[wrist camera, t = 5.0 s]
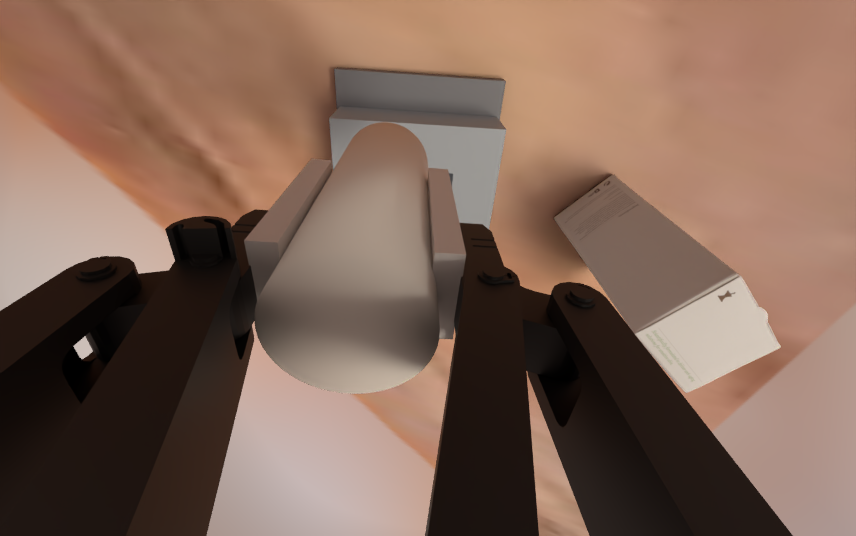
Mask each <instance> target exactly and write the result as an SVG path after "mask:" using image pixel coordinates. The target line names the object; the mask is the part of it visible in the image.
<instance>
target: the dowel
mask: <svg viewBox="0 0 856 536" xmlns="http://www.w3.org/2000/svg"><path fill="white" fill-rule="evenodd" d="M427 179H428V161H427V155H426V152H425V149H424V147H423V145H422V143H421V142H420V140H419V139H418V138H417V137H416V136H415V134H413V133H412V132H411V131H410V130H408V129H407V128H405V127H403V126H401V125H398V124H395V123H389V122H380V123H374V124H371V125H368V126H366V127H364V128H363V129H361V130H360V131H359V132H358V133H357V134H356V135H355V136H354V137H353V138H352V140H351V141H350V143H349V145H348V146H347V148H346V150H345V151H344V153H343V155H342V156H341V158H340V160H339V161H338V163H337V165H336V167H335V168H334V170H333V172H332V173H331V175H330V177H329V178H328V180H327V182H326V183H325V185H324V187H323V188H322V190H321V192H320V194H319V195H318V197H317V199H316V200H315V202H314V204H313V205H312V207H311V209H310V210H309V212H308V214H307V216H306V217H305V219H304V221H303V222H302V224H301V226H300V227H299V229H298V231H297V232H296V234H295V236H294V237H293V239H292V241H291V243H290V244H289V246H288V248H287V249H286V251H285V253H284V254H283V256H282V258H281V259H280V261H279V263H278V264H277V266H276V268H275V270H274V271H273V273H272V275H271V276H270V278H269V280H268V281H267V283H266V285H265V286H264V288H263V290H262V292H261V294H260V296H259V298H258V300H257V304H256V308H255V317H254V321H255V329H256V332H257V335H258V338H259V340H260V343H261V345H262V347H263V348H264V350H265V351H266V353H267V354H268V355H269V356H270V358H271V359H272V360H273V361H274V362H275V363H276V364H277V365H278V366H279V367H280V368H281V369H283V370H284V371H285V372H287V373H288V374H289V375H291V376H293V377H295V378H296V379H298V380H300V381H302V382H304V383H306V384H308V385H311V386H314V387H317V388H320V389H324V390H327V391H333V392H339V393H348V394H363V393H373V392H378V391H383V390H387V389H390V388H393V387H396V386H398V385H401V384H403V383H404V382H406V381H408V380H410V379H411V378H413V377H414V376H416V375H417V374H418V373H419V372H420V371H422V370H423V369H424V368H425V366H426V365H427V364H428V363H429V362H430V360H431V358H432V357H433V355H434V353H435V351H436V348H437V346H438V341H439V334H440V325H439V311H438V297H437V286H436V280H435V276H434V273H433V266H432V250H431V233H430V216H429V200H428V183H427Z"/></svg>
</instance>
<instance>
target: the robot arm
mask: <svg viewBox="0 0 856 536" xmlns="http://www.w3.org/2000/svg"><path fill="white" fill-rule="evenodd" d="M331 173H332V160H323V159H311V160H310V161H309V162H308V163H307V165H306V166H305V167H304V168H303V169H302V171H301V172H300V173H299V174H298V176H297V177H296V178H295V179H294V180H293V182H292V183H291V184H290V185H289V186H288V188H287V189H286V190H285V191H284V193H283V194H282V195H281V196H280V197H279V199H278V200H277V201H276V202H275V203H274V205H273V206H272V207H271V208H270V210H269V211H268V210H253V211H251V212H249V213H247V214H245V215H243V216H242V217H241V218H240V219H239V220H238V221H237V222H236V223H235V225H233V226H232V227H231V224H230V222H228V221H227V220H226V219H223V218H219V217H212V216H201V217H192V218H188V219H183V220H180V221H178V222H175V223H173V224H171V225H170V226H168V227H167V228H166V229H165V230H166V233H167V236H168V239H169V242H170V246H171V249H172V252H173V255H174V258H175V262H174V264H173V265H172V267H171V268H170V270H169V271H161V272H152V273H142V274H138V272H137V269H136V267H135V264H134V262H132V261H131V260H130V259H128V258H124V257H109V256H104V257H100V258H98V257H97V258H91V259H89V260H87V261H84V262H81V263H78V264H76V265H74V266H72V267H70V268H68V269H66V270H64V271H63V272H61V273H60V274H58V275H57V276H55V277H53V278H52V279H50V280H49V281H47V282H45V283H44V284H42V285H41V286H39V287H38V288H36V289H34V290H33V291H31V292H30V293H28V294H27V295H25V296H23V297H22V298H20V299H19V300H17V301H15V302H14V303H12V304H11V305H9V306H8V307H6V308H4V309H3V310H1V311H0V536H206V534H207V530H208V526H209V522H210V518H211V514H212V510H213V506H214V502H215V498H216V493H217V490H218V486H219V481H220V477H221V473H222V469H223V465H224V461H225V457H226V453H227V449H228V445H229V441H230V437H231V433H232V428H233V424H234V420H235V416H236V412H237V408H238V403H239V400H240V396H241V392H242V387H243V383H244V379H245V375H246V371H247V367H248V363H249V359H250V355H251V350H252V347H253V342H254V334H253V329H252V324H253V322H254V317H255V308H256V304H257V300H258V298H259V296H260V294H261V292H262V290H263V288H264V286H265V285H266V283H267V281H268V280H269V278H270V276H271V275H272V273H273V271H274V270H275V268H276V266H277V264H278V263H279V261H280V259H281V258H282V256H283V254H284V253H285V251H286V249H287V248H288V246H289V244H290V243H291V241H292V239H293V237H294V236H295V234H296V232H297V231H298V229H299V227H300V226H301V224H302V222H303V221H304V219H305V217H306V216H307V214H308V212H309V210H310V209H311V207H312V205H313V204H314V202H315V200H316V199H317V197H318V195H319V194H320V192H321V190H322V188H323V187H324V185H325V183H326V182H327V180H328V178H329V177H330V175H331ZM427 183H428V200H429V216H430V233H431V250H432V266H433V273H434V276H435V280H436V286H437V297H438V311H439V325H440V334H439V339H453V333H454V327H455V333H456V338H455V344H454V350H453V356H452V362H451V368H450V376H449V382H448V389H447V395H446V402H445V409H444V415H443V422H442V428H441V435H440V441H439V448H438V455H437V461H436V468H435V474H434V481H433V487H432V494H431V500H430V507H429V514H428V520H427V527H426V533H425V536H539V531H538V518H537V505H536V492H535V478H534V465H533V452H532V439H531V426H530V413H529V400H528V387H527V373H526V371H528V377H529V379H530V382H531V384H532V387H533V390H534V392H535V395H536V397H537V400H538V403H539V405H540V408H541V410H542V413H543V416H544V418H545V421H546V423H547V426H548V429H549V431H550V434H551V436H552V439H553V442H554V444H555V447H556V449H557V452H558V455H559V457H560V460H561V462H562V465H563V468H564V470H565V473H566V475H567V478H568V481H569V483H570V486H571V488H572V491H573V494H574V496H575V499H576V501H577V504H578V507H579V509H580V512H581V514H582V517H583V520H584V522H585V525H586V527H587V530H588V533H589V535H590V536H792V534H791V533H790V532H789V530H788V529H787V528H786V526H785V525H784V524H783V523H782V521H781V520H780V519H779V518H778V516H777V515H776V514H775V512H774V511H773V510H772V509H771V507H770V506H769V505H768V503H767V502H766V501H765V500H764V498H763V497H762V496H761V495H760V493H759V492H758V491H757V489H756V488H755V487H754V486H753V484H752V483H751V482H750V480H749V479H748V478H747V477H746V475H745V474H744V473H743V472H742V470H741V469H740V468H739V467H738V465H737V464H736V463H735V461H734V460H733V459H732V458H731V456H730V455H729V454H728V452H727V451H726V450H725V449H724V447H723V446H722V445H721V443H720V442H719V441H718V440H717V438H716V437H715V436H714V435H713V433H712V432H711V431H710V429H709V428H708V427H707V426H706V424H705V423H704V422H703V421H702V419H701V418H700V417H699V415H698V414H697V413H696V412H695V410H694V409H693V408H692V406H691V405H690V404H689V403H688V401H687V400H686V399H685V398H684V396H683V395H682V394H681V392H680V391H679V390H678V389H677V387H676V386H675V385H674V384H673V382H672V381H671V380H670V378H669V377H668V376H667V375H666V373H665V372H664V371H663V369H662V368H661V367H660V366H659V364H658V363H657V362H656V361H655V359H654V358H653V357H652V355H651V354H650V353H649V352H648V350H647V349H646V348H645V347H644V345H643V344H642V343H641V341H640V340H639V339H638V338H637V336H636V335H635V334H634V333H633V331H632V330H631V329H630V327H629V326H628V325H627V324H626V322H625V321H624V320H623V318H622V317H621V316H620V315H619V313H618V312H617V311H616V310H615V308H614V307H613V306H612V304H611V303H610V302H609V301H608V299H607V298H606V297H605V296H604V295H602V294H601V293H600V292H599V291H597V290H595V289H593V288H592V287H590V286H587V285H584V284H581V283H572V282H566V283H560V284H558V285H556V286H554V288H553V290H552V293H551V295H547V294H543V293H539V292H535V291H532V290H529V289H526V288H524V287H522V286H520V281H519V279H518V276H517V275H516V274H515V273H514V272H513V271H512V270H510V269H508V268H506V267H504V265H503V262H502V259H501V257H500V254H499V251H498V248H497V246H496V243H495V241H494V237H493V235H492V232H491V231H490V230H489V229H488V228H486V227H485V226H484V225H483V224H472V223H459V218H458V214H457V209H456V204H455V200H454V195H453V190H452V186H451V181H450V176H449V172H448V169H438V168H428V179H427ZM84 336H86V338H87V340H88V342H89V344H90V346H91V348H92V350H93V352H92V353H91V354H90V355H89V356H87V357H86V358H84V359H81V358H79V356H78V354H77V352H76V350H75V349H74V347H73V346H74V345H75V344H76V343H77V342H78V341H80V340H81V339H82V338H83V337H84Z"/></svg>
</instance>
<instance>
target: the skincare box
mask: <svg viewBox="0 0 856 536" xmlns="http://www.w3.org/2000/svg"><path fill="white" fill-rule="evenodd" d="M554 220H555V221H556V223H557V224H558V226H559V227H560V228H561V230H562V231H563V233H564V234H565V235H566V237H567V238H568V240H569V241H570V243H571V244H572V245H573V247H574V248H575V249H576V251H577V252H578V254H579V255H580V257H581V258H582V259H583V261H584V262H585V264H586V265H587V267H588V268H589V270H590V271H591V272H592V274H593V275H594V277H595V278H596V280H597V281H598V282H599V284H600V285H601V287H602V288H603V290H604V291H605V293H606V294H607V295H608V297H609V298H610V300H611V301H612V303H613V304H614V305H615V307H616V308H617V310H618V311H619V313H620V314H621V315H622V317H623V318H624V320H625V321H626V323H627V324H628V325H629V327H630V328H631V330H632V331H633V333H634V334H635V335H636V336H637V338H638V339H639V340H640V341H641V343H642V344H643V345H644V346H645V348H646V349H647V350H648V351H649V352H650V354H651V355H652V356H653V357H654V358H655V359H656V361H657V362H658V363H659V364H660V365H661V366H662V368H663V369H664V370H665V371H666V372H667V373H668V374H669V376H670V377H671V378H672V379H673V380H674V381H675V382H676V383H677V385H678V386H679V387H680V388H681V389H682V390H683V391H684V392H686V393H688V392H690V391H692V390H695V389H697V388H699V387H701V386H703V385H705V384H707V383H709V382H711V381H713V380H715V379H717V378H719V377H721V376H723V375H725V374H727V373H729V372H731V371H733V370H735V369H737V368H739V367H741V366H743V365H745V364H747V363H750V362H752V361H754V360H756V359H758V358H760V357H762V356H765V355H767V354H769V353H771V352H773V351H775V350H777V349H779V348H780V347H781V346H780V344H779V343H778V341H777V339H776V337H775V335H774V333H773V331H772V329H771V328H770V326H769V324H768V322H767V321H768V314H767V312H766V311H765V310H764V309H763V308H761V307H759V306H758V304H757V302H756V301H755V299H754V297H753V295H752V294H751V292H750V290H749V288H748V287H747V285H746V283H745V281H744V280H743V278H742V277H741V276H740V275H739V274H738V273H736V272H735V271H734V270H733V269H731V268H730V267H729V266H728V265H726V264H725V263H724V262H722V261H721V260H720V259H719V258H717V257H716V256H715V255H714V254H712V253H711V252H710V251H709V250H707V249H706V248H705V247H703V246H702V245H701V244H700V243H698V242H697V241H696V240H695V239H693V238H692V237H691V236H690V235H688V234H687V233H686V232H685V231H683V230H682V229H681V228H679V227H678V226H677V225H676V224H674V223H673V222H672V221H671V220H669V219H668V218H667V217H666V216H664V215H663V214H662V213H661V212H659V211H658V210H657V209H656V208H654V207H653V206H652V205H650V204H649V203H648V202H647V201H645V200H644V199H643V198H642V197H640V196H639V195H638V194H637V193H635V192H634V191H633V190H632V189H630V188H629V187H628V186H627V185H625V184H624V183H623V182H622V181H620V180H619V179H618V178H617V177H616V176H615V175H611V176H610V177H608V178H607V179H606V180H604V181H603V182H601V183H600V184H599V185H597V186H596V187H595V188H593V189H592V190H590V191H589V192H588V193H586V194H585V195H584V196H582V197H581V198H580V199H578V200H577V201H575V202H574V203H573V204H571V205H570V206H569V207H567V208H566V209H565V210H563V211H562V212H561V213H559V214H558V215H557V216H555V217H554Z"/></svg>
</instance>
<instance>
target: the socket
mask: <svg viewBox="0 0 856 536" xmlns="http://www.w3.org/2000/svg"><path fill="white" fill-rule="evenodd" d="M334 71H335V87H336V103H337V110H336V111H335V112H334V113H333V114H332V116H331V117H330V118H329V123H330V136H331V150H332V163H333V170H334V168H335V167H336V165H337V163H338V161H339V160H340V158H341V156H342V155H343V153H344V151H345V150H346V148H347V146H348V145H349V143H350V141H351V140H352V138H353V137H354V136H355V135H356V134H357V133H358V132H359V131H360V130H361V129H363V128H364V127H366V126H368V125H371V124H374V123H380V122H389V123H395V124H398V125H401V126H403V127H405V128H407V129H408V130H410V131H411V132H412V133H413V134H415V136H416V137H417V138H418V139H419V140H420V142H421V143H422V145H423V147H424V149H425V152H426V155H427V161H428V168H438V169H448V172H449V176H450V181H451V186H452V190H453V195H454V200H455V204H456V209H457V214H458V218H459V223H472V224H483V225H484V226H485V227H486V228H488V229H489V226H490V220H491V215H492V209H493V203H494V197H495V192H496V186H497V180H498V174H499V169H500V163H501V157H502V151H503V145H504V140H505V134H506V129H505V127H504V126H503V125H502V123H501V122H500V114H501V108H502V101H503V95H504V89H505V83H506V81H505V80H504V79H492V78H478V77H464V76H450V75H436V74H422V73H408V72H394V71H380V70H366V69H352V68H338V67H337V68H335V69H334Z"/></svg>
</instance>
